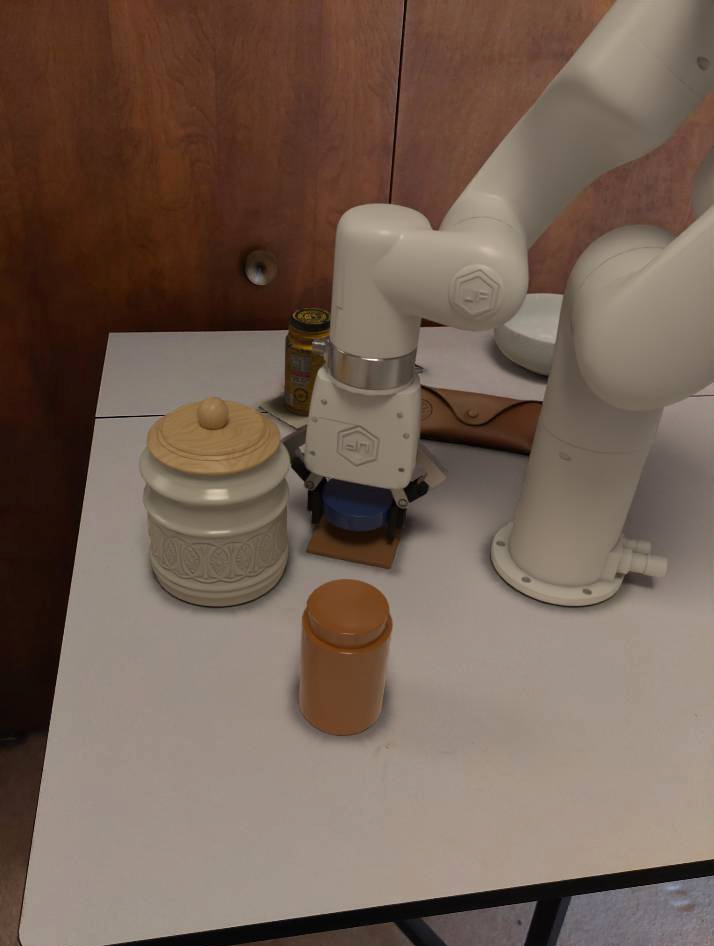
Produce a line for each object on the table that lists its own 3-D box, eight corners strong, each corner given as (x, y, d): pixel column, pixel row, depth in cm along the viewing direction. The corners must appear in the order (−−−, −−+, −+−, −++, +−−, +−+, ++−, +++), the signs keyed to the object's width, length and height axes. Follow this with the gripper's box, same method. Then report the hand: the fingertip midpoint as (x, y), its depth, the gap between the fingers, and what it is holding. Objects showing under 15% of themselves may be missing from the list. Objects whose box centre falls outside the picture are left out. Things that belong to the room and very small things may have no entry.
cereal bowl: (466, 344, 117) (474, 297, 112) (566, 333, 121) (577, 287, 117) (525, 399, 104) (536, 348, 100) (633, 384, 108) (649, 335, 104)
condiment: (346, 407, 101) (352, 317, 94) (297, 430, 97) (299, 336, 89) (306, 386, 105) (309, 298, 98) (257, 407, 101) (256, 316, 93)
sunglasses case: (392, 435, 95) (401, 378, 94) (395, 435, 102) (403, 383, 101) (546, 456, 93) (556, 398, 92) (539, 455, 100) (548, 402, 99)
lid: (320, 530, 76) (321, 515, 75) (319, 486, 81) (320, 471, 80) (395, 532, 76) (397, 517, 75) (389, 488, 82) (391, 473, 80)
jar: (160, 621, 70) (140, 449, 59) (144, 532, 80) (124, 371, 69) (303, 597, 73) (309, 429, 62) (270, 515, 83) (271, 357, 72)
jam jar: (379, 672, 66) (391, 576, 60) (384, 736, 61) (398, 639, 55) (299, 670, 66) (303, 573, 60) (298, 734, 61) (301, 637, 55)
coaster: (405, 519, 83) (406, 516, 83) (390, 569, 77) (390, 566, 76) (327, 504, 85) (327, 501, 84) (306, 552, 78) (306, 549, 78)
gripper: (261, 362, 68) (260, 529, 79) (467, 396, 64) (435, 565, 75) (287, 328, 73) (282, 487, 84) (477, 358, 70) (446, 519, 81)
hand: (355, 523), depth 80 cm, fingers closed on lid, 7 cm apart
